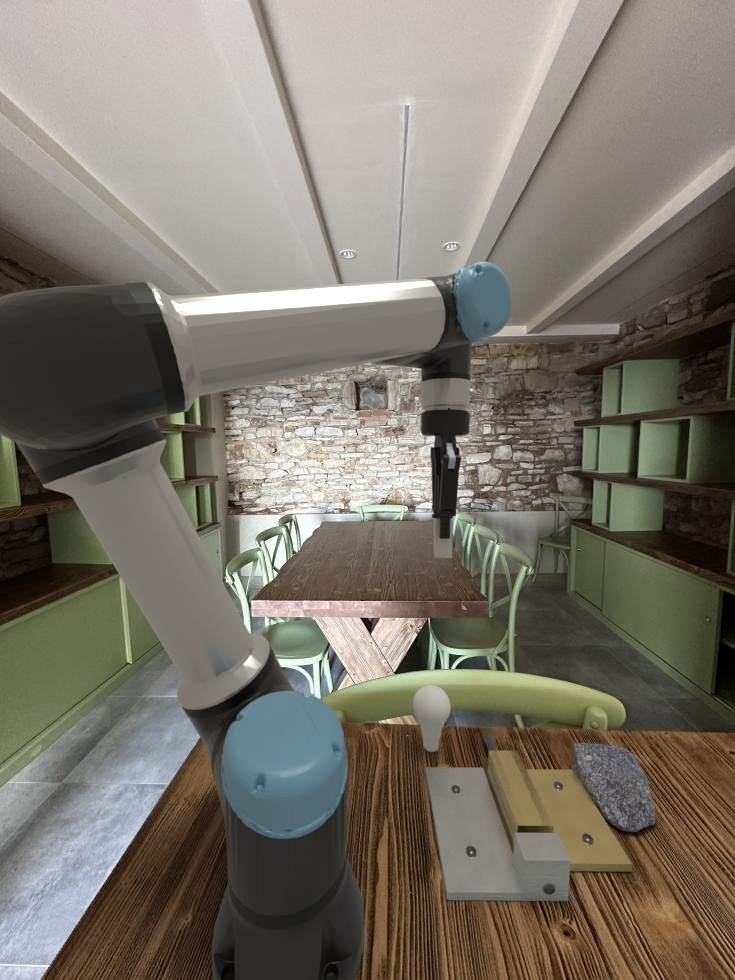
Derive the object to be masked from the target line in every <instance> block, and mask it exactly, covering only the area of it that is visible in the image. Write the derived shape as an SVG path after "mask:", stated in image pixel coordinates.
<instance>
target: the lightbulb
mask: <svg viewBox="0 0 735 980" xmlns="http://www.w3.org/2000/svg"><path fill="white" fill-rule="evenodd" d="M412 701H413V702H412V709H413V713H414V715H415V717H416V719H417V721H418V722H419V725H420V730H421V736H422V744H423V748H424V750H426V751H427V752H430V753H434V752H437V751H438V750H439V747H440V746H439V745H440V739H441V737H442V729H443V727H444V725H445V723H447V720H448V719H449V717H450V715H451V701H450V698H449V695H448V694H447V693H446V691H444V689H443V688H441V687H439V686H438V685H433V684H427V685H424V686H421V687H420V688H419V689H418V690H417V691H416V693H415V695H414V697H413V700H412Z"/></svg>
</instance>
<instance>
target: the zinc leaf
mask: <svg viewBox="0 0 735 980" xmlns="http://www.w3.org/2000/svg"><path fill="white" fill-rule="evenodd" d="M482 736H483V739H484V742H485V745H486V746H487V747H486V748H487V750H488V751H499V750H498V747H497V744H496V742H495V740H494V737H493V735H492V732H490V730H485V731H483V733H482ZM425 778H426V779H425V780H426V783H427V784H426V785H427V788H428V796H429V801H430V806H431V808H430V809H431V814H432V820H433V825H434V831H435V837H436V843H437V849H438V855H439V862H440V867H441V872H442V880H443V885H444V890H445V897H446V901H492V902H493V901H495V902H496V901H500V902H503V901H504V902H505V901H506V902H508V901H509V902H511V901H513V902H514V901H515V902H517V901H519V902H520V901H521V902H569V896H570V894H569V893H570V891H569V890H570V875H571V873H570V872H571V871H570V859H569V857H568V855H567V852H566V850H565V848H564V846H563V844H562V842H561V840H560V838H559V836H558V834H557V833H514V855H513V852H512V849H511V846H510V843H509V840H508V838H507V835H506V832H505V829H504V826H503V823H502V820H501V818H500V815H499V812H498V809H497V806H496V803H495V800H494V798H493V795H492V792H491V789H490V786H489V783H488V777H487V776H486V773H485V769H484V768H483V767H445V766H444V767H440V766H439V767H437V766H436V767H433V766H432V767H431V766H429V767H428V766H426V767H425Z"/></svg>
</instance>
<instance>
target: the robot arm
mask: <svg viewBox="0 0 735 980" xmlns="http://www.w3.org/2000/svg"><path fill="white" fill-rule="evenodd" d="M512 306H513V298H512V294H511V285H510V283H509V281H508V278H507V276H506V275H505V273H504V272H503V271H502V270H501V269H500V268H499V266H498V265H496V264H494V263H493V262H489V261H478V262H476V263H472V264H471V265H468V266H462V267H460V268H459V269H458V270H457V272H454V273H451V274H449V275H441V276H428V277H421V278H409V279H394V280H380V281H379V280H378V281H366V282H353V283H350V282H349V283H338V284H322V285H310V286H309V285H308V286H295V287H279V288H268V289H254V290H253V289H252V290H251V289H250V290H238V291H237V290H236V291H223V292H210V293H199V294H198V293H197V294H196V293H194V294H183V295H180V294H179V295H170V294H168V293H165V291H163V290H161V289H160V288H159V287H158V286H156V285H155V284H153V282H150V281H146V282H145V281H140V282H125V283H124V282H123V283H121V282H119V283H103V284H102V283H101V284H88V285H87V284H86V285H85V284H83V285H70V286H69V285H67V286H56V287H46V288H37V289H29V290H23V291H17V292H12V293H7V294H5V295H2V296H0V435H1V436H3V437H4V438H6V439H8V440H11V441H12V442H14V443H16V446H18V449H19V450H20V451H21V454H23V456H24V458H25V459H26V461H27V463H28V464H29V466H30V467H31V469H32V470H33V472H34V473H35V475H36V476H37V478H38V480H39V481H40V483H41V484H42V486H43V488H45V489H48V490H52V491H54V492H59V493H62V494H65V495H67V496H69V497H72V499H73V500H74V502H75V504H76V506H77V507H78V509H79V510H80V512H81V514H82V515H83V518H85V520H86V522H87V524H88V526H89V527H90V529H91V530H92V532H93V533H94V535H95V536H96V539H97V540H98V542H99V543H100V545H101V547H102V549H104V552H105V553H106V555H107V557H108V558H109V560H110V562H111V564H113V566H114V568H115V570H116V571H117V573H118V575H119V576H120V578H121V579H122V581H123V583H124V584H125V586H126V588H127V589H128V591H129V593H130V594H131V595H132V597H133V599H134V601H135V603H136V604H137V606H138V607H139V609H140V611H141V612H142V614H143V616H144V617H145V618H146V620H147V622H148V624H149V625H150V628H151V629H152V630H153V632H154V634H155V635H156V638H158V641H159V642H160V643H161V645H162V647H163V649H164V650H165V651H166V654H167V655H168V657H169V658H170V660H171V661H172V663H173V666H175V668H176V669H177V672H178V673H179V675H180V677H181V678H180V681H179V683H178V686H177V690H176V698H177V701H178V703H179V704H180V707H181V708H182V710H183V711H184V713H185V715H186V717H188V719H189V721H190V722H191V724H192V726H193V727H194V729H195V731H196V733H197V734H198V735H199V737H200V739H201V741H202V743H203V746H204V748H205V750H206V753H207V757H208V761H209V764H210V767H211V772H212V775H213V779H214V784H215V787H216V790H217V794H218V799H219V801H220V802H219V803H220V806H221V808H222V809H221V810H222V813H223V819H224V828H225V839H226V840H225V841H226V842H225V843H226V844H225V845H226V860H227V861H226V862H227V885H226V888H225V891H224V894H223V897H222V900H221V904H220V906H219V910H218V913H217V917H216V920H215V925H214V928H213V933H212V934H213V935H212V940H211V941H212V943H211V970H212V971H211V972H212V973H211V974H212V980H356V978H357V975H358V973H359V969H360V966H361V962H362V958H363V952H364V947H365V946H364V945H365V911H364V902H363V898H362V894H361V889H360V886H359V884H358V882H357V881H358V880H357V879H356V876H355V874H354V871H353V868H352V865H351V863H350V861H349V859H348V856H347V846H348V845H347V842H348V841H347V830H348V829H347V780H348V774H349V772H348V771H349V769H348V767H349V763H348V752H347V748H346V741H345V734H344V729H343V726H342V723H341V720H340V718H339V717H338V715H337V714H336V712H335V711H334V710H333V708H331V706H329V704H328V703H326V702H325V701H324V700H322V699H320V698H319V697H317V696H315V695H312V694H311V695H309V696H306V697H305V693H304V692H303V691H302V692H301V691H296V690H295V689H294V687H293V686H292V684H291V682H290V680H289V679H288V678H287V676H286V673H285V671H284V669H283V668H282V666H281V664H280V662H279V660H278V658H277V656H276V654H275V652H274V650H273V648H272V646H271V644H270V643H269V641H268V639H267V638H266V636H264V635H262V634H259V633H253V632H252V633H251V632H249V630H248V628H247V625H246V624H245V622H244V620H243V618H242V617H241V614H240V613H239V610H238V609H237V607H236V605H235V603H234V601H233V599H232V597H231V595H230V594H229V591H228V589H227V588H226V586H225V583H224V582H223V580H222V579H221V576H220V574H219V572H218V571H217V568H216V567H215V564H214V563H213V561H212V559H211V557H210V554H209V553H208V551H207V550H206V548H205V546H204V544H203V542H202V540H201V538H200V536H199V534H198V531H197V530H196V528H195V526H194V525H193V522H192V521H191V518H190V517H189V515H188V513H187V511H186V509H185V507H184V506H183V503H182V501H181V499H180V498H179V496H178V494H177V492H176V490H175V489H174V486H173V484H172V482H171V480H170V479H169V477H168V474H167V473H166V471H165V469H164V467H163V465H162V464H161V457H162V456H161V455H162V454H163V451H164V449H165V447H166V444H167V440H166V438H165V436H164V434H163V433H162V430H161V428H160V426H159V425H158V422H157V420H156V419H159V418H163V417H166V416H171V415H175V414H179V413H184V412H188V411H189V410H190V409H191V407H192V405H193V404H194V402H195V401H196V399H197V398H199V397H202V396H206V395H211V394H217V393H220V392H227V391H233V390H237V389H243V388H246V387H252V386H257V385H262V384H267V383H272V382H277V381H278V382H279V381H283V380H287V379H293V378H298V377H303V376H308V375H315V374H319V373H324V372H329V371H335V370H338V369H339V370H340V369H344V368H345V369H346V368H349V367H355V366H360V365H366V364H370V363H371V364H375V365H376V366H379V365H386V366H396V367H403V368H413V369H420V372H421V373H420V374H421V382H420V383H421V384H420V407H421V408H422V409H424V411H423V412H422V413H421V414H420V433H421V434H422V436H430V437H431V436H434V444H433V446H432V447H430V455H429V456H430V464H431V493H432V494H431V502H432V503H431V508H432V511H433V513H431V518H432V519H433V557H434V558H435V559H452V558H453V523H454V522H453V519H454V517H456V516H457V503H458V487H459V478H460V477H459V475H460V468H461V467H460V466H461V462H462V455H460V447H459V446H457V438H456V437H457V436H467V435H469V433H470V423H471V422H470V420H471V419H470V415H471V413H470V412H469V411H468V410H466V409H467V408H469V407H470V405H471V404H470V403H471V402H470V401H471V399H470V398H471V396H470V395H473V394H474V389H473V388H470V385H471V370H472V369H471V367H472V344H473V343H476V342H477V343H478V342H482V341H483V339H487V338H489V337H492V336H494V335H497V334H498V333H500V332H501V331H502V330H503V329H504V328H505V326H506V325H507V324H508V321H509V319H510V316H511V313H512Z"/></svg>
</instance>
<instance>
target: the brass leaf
mask: <svg viewBox="0 0 735 980" xmlns="http://www.w3.org/2000/svg"><path fill="white" fill-rule="evenodd" d="M487 753H488V754H487V755H488V756H487V757H488V758H487V781H488V784H489V787H490V790H491V793H492V795H493V798H494V801H495V804H496V807H497V810H498V813H499V815H500V818H501V821H502V824H503V827H504V830H505V833H506V835H507V838H508V841H509V844H510V847H511V850H512V853H513V855H514V833H557V834H558V836H559V838H560V840H561V842H562V844H563V846H564V848H565V850H566V852H567V855H568V857H569V859H570V872H614V873H615V872H625V873H627V872H630V873H631V872H632V871H633V863H632V861H631V860H630V858H629V857H628V855H627V853H626V852H625V850H624V849H623V847H622V845H621V843H620V841H618V839H617V837H616V835H615V834H614V833H613V831H612V830H611V827H610V826H609V824H608V822H607V820H606V819H605V818H604V817H603V816H602V813H601V811H600V809H599V808H598V806H596V805H595V804H594V802H593V801H592V799H591V797H590V796H589V794H588V793H587V791H586V789H585V788H584V786H583V785H582V783H581V781H580V780H579V778H578V777H577V775H576V774H575V772H574V770H573V769H545V768H544V769H539V768H538V769H534V768H533V769H528V768H526V766H525V764H524V762H523V760H522V757H521V756H520V753H519V751H518V750H498V751H489V750H488V751H487Z"/></svg>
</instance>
